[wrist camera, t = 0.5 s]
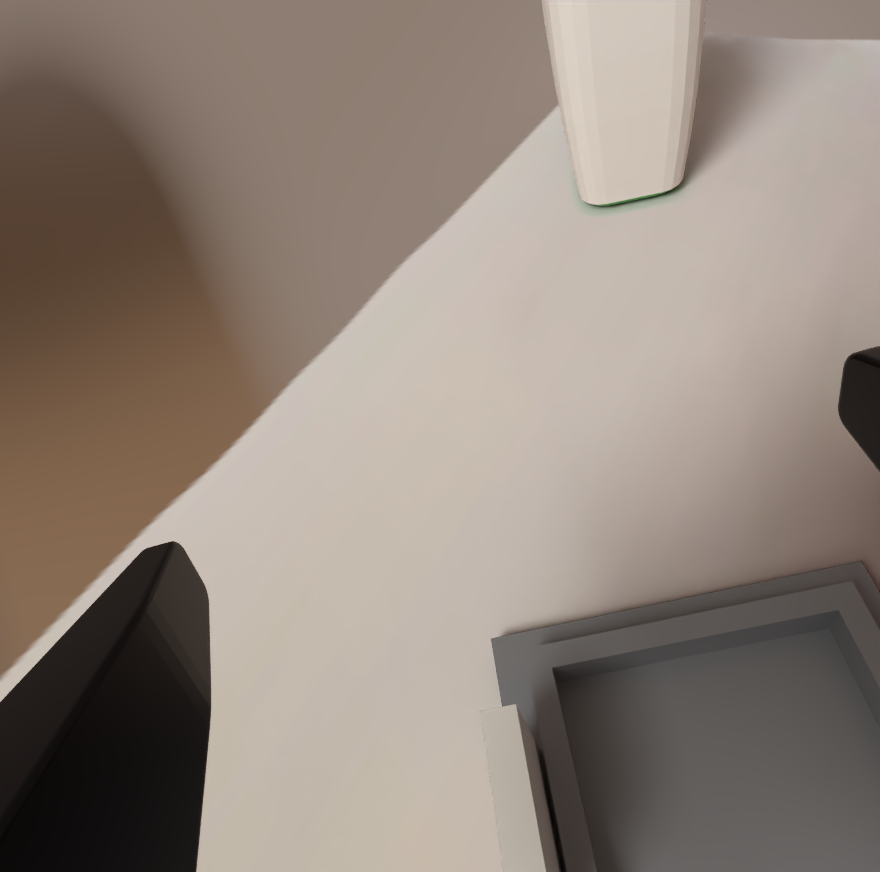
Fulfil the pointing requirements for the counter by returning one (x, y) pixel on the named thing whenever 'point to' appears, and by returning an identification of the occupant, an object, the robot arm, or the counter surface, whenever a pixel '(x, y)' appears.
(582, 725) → the plain holder
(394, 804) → the counter surface
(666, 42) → the cup
